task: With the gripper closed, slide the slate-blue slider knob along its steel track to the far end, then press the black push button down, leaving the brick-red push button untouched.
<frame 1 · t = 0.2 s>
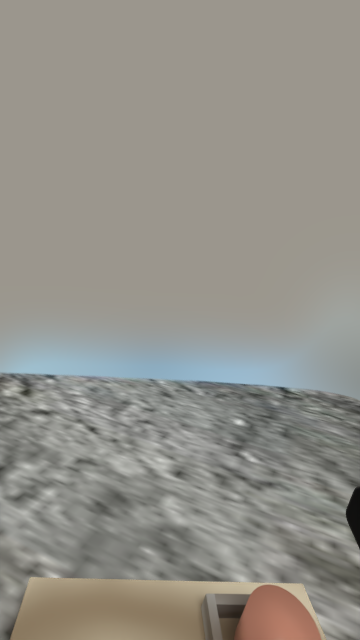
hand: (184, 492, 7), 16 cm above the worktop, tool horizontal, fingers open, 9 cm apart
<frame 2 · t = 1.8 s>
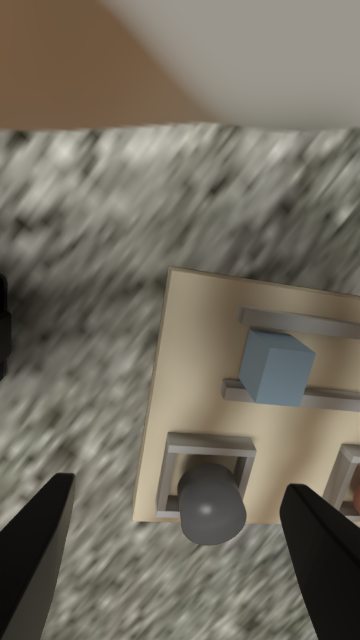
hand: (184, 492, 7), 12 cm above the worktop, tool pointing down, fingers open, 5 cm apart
control panel: (288, 406, 21), on the worktop
black button: (210, 502, 17), point 4 cm above the worktop, slide at 0.0 cm
slider knob: (273, 366, 16), point 4 cm above the worktop, slide at 0.0 cm
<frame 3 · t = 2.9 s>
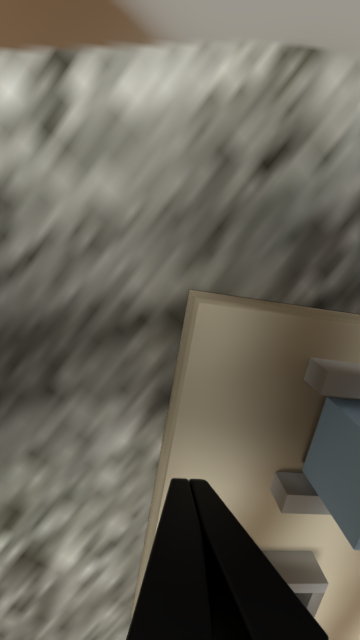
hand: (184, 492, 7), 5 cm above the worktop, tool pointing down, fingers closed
control panel: (359, 489, 14), on the worktop
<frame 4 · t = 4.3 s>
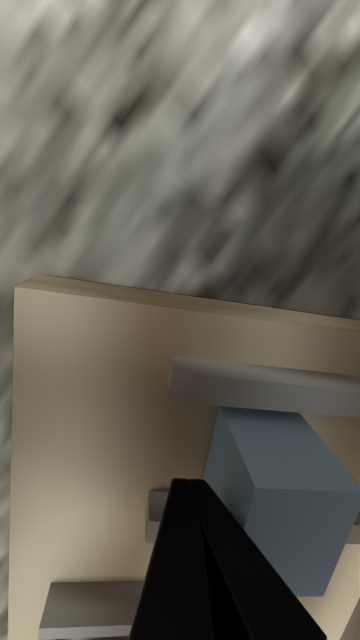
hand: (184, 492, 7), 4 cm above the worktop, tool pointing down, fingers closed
control panel: (278, 505, 13), on the worktop
slider knob: (266, 491, 8), point 4 cm above the worktop, slide at 0.7 cm, touching gripper
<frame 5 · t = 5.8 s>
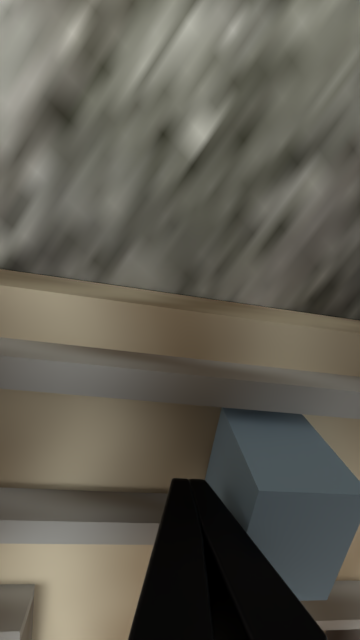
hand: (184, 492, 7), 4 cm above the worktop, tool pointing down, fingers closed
control panel: (141, 502, 12), on the worktop
slider knob: (269, 493, 7), point 4 cm above the worktop, slide at 6.7 cm, touching gripper
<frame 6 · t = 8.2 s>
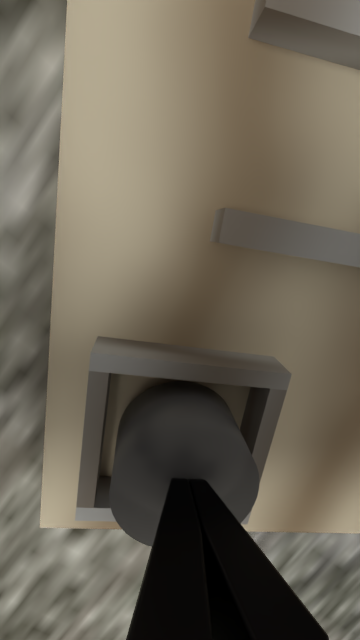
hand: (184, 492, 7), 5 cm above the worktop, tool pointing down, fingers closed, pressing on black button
control panel: (340, 313, 11), on the worktop
black button: (181, 459, 8), point 4 cm above the worktop, slide at 0.9 cm, touching gripper
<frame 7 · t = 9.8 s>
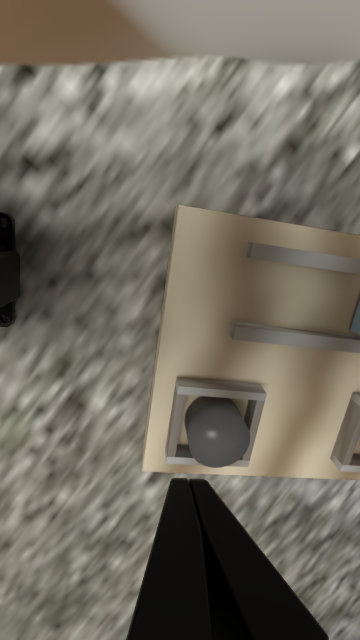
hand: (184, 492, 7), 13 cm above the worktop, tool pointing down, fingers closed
control panel: (297, 357, 21), on the worktop
black button: (215, 429, 18), point 3 cm above the worktop, slide at 1.2 cm
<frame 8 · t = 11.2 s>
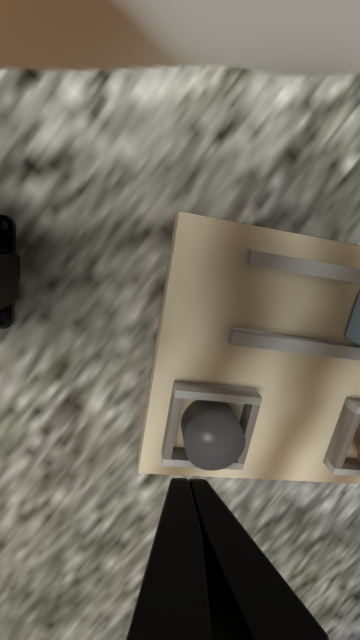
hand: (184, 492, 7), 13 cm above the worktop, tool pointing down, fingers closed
control panel: (292, 362, 21), on the worktop
black button: (211, 433, 18), point 3 cm above the worktop, slide at 1.2 cm
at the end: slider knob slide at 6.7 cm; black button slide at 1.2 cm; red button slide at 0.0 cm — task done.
